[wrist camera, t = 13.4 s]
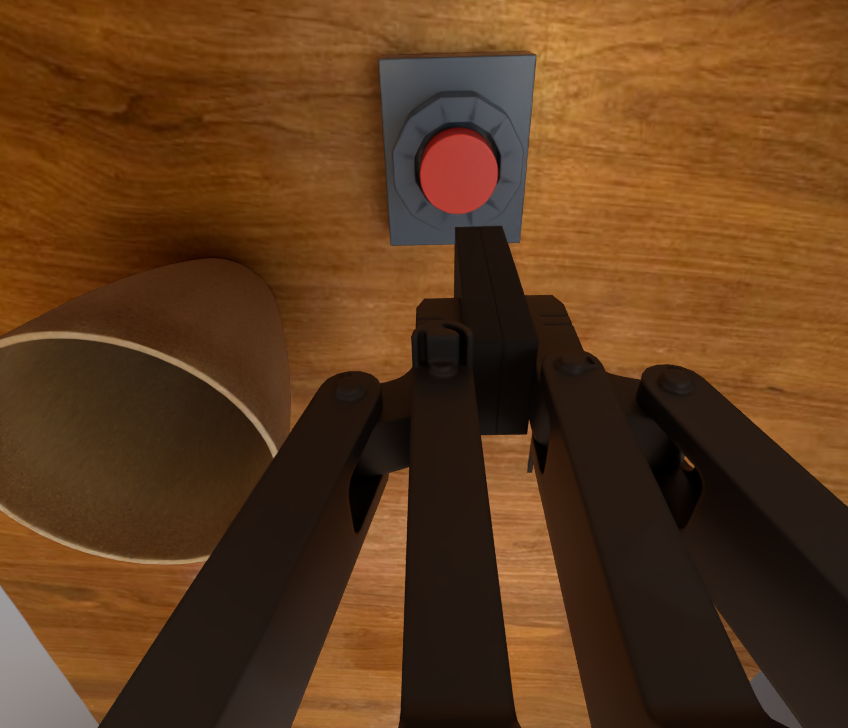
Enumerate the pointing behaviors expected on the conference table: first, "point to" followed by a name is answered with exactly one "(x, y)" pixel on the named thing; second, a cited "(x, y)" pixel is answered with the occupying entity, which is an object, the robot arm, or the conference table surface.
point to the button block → (446, 108)
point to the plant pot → (144, 411)
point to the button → (458, 170)
